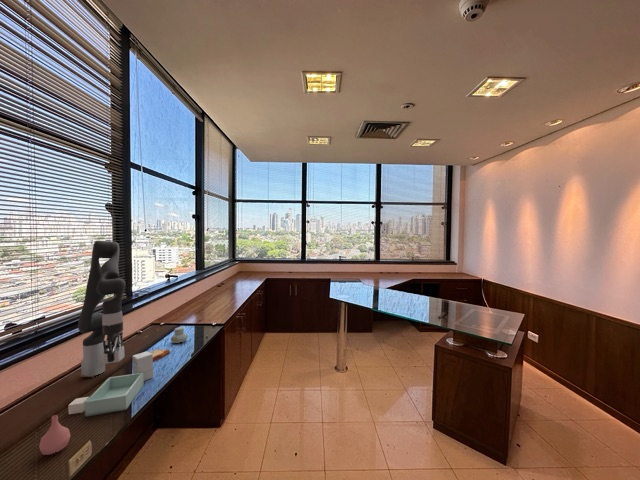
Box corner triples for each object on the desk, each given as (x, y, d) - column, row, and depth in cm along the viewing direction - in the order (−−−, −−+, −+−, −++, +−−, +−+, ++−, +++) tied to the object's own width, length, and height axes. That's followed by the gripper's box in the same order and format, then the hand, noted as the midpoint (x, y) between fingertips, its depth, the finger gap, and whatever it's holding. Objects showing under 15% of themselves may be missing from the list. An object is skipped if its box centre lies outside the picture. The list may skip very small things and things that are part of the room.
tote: (85, 416, 111) (84, 402, 112) (109, 389, 132) (109, 377, 132) (126, 409, 116) (125, 395, 116) (143, 384, 136) (143, 372, 136)
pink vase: (51, 461, 88) (50, 424, 88) (32, 458, 90) (32, 422, 90) (76, 444, 96) (75, 410, 96) (59, 441, 97) (58, 408, 97)
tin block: (103, 364, 120) (102, 352, 121) (109, 358, 126) (109, 348, 126) (118, 361, 122) (118, 350, 122) (124, 356, 128) (124, 346, 128)
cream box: (68, 414, 113) (68, 405, 113) (76, 407, 118) (75, 398, 118) (82, 412, 115) (82, 403, 115) (89, 405, 120) (89, 396, 120)
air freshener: (168, 343, 193) (168, 329, 193) (178, 339, 201) (177, 326, 201) (180, 344, 190) (180, 330, 190) (189, 340, 198) (189, 327, 198)
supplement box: (148, 373, 148) (147, 350, 148) (153, 377, 143) (153, 353, 143) (132, 379, 142) (132, 355, 142) (137, 383, 137) (136, 358, 137)
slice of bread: (136, 368, 156) (136, 361, 156) (137, 357, 171) (136, 351, 171) (171, 360, 166) (171, 354, 166) (169, 350, 181) (169, 345, 181)
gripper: (110, 319, 130) (111, 354, 130) (95, 327, 117) (96, 366, 116) (128, 317, 132) (129, 351, 132) (115, 325, 119) (116, 363, 118)
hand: (114, 358), depth 124 cm, fingers closed on tin block, 6 cm apart
